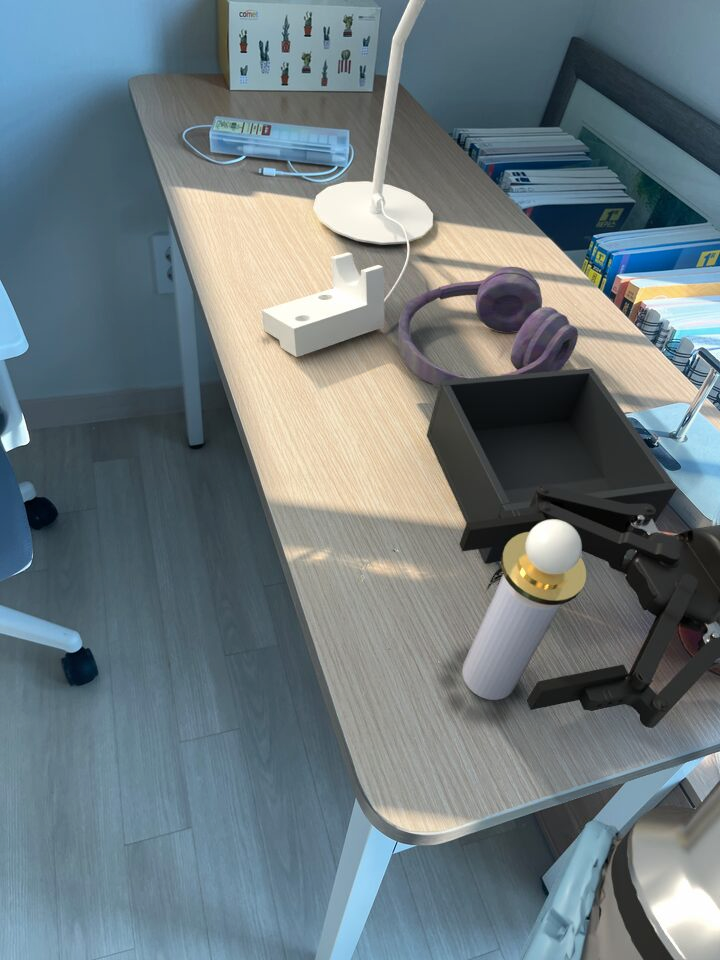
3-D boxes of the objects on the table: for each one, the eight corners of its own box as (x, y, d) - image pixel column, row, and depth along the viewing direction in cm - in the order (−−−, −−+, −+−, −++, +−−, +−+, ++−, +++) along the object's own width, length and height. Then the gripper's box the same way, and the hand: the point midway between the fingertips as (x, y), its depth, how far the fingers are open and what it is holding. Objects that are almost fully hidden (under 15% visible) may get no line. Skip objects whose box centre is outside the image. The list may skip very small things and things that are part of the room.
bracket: (350, 309, 98) (348, 252, 94) (384, 326, 94) (383, 266, 89) (264, 337, 92) (257, 277, 88) (296, 357, 87) (290, 294, 83)
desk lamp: (301, 183, 118) (327, -199, 85) (410, 183, 123) (475, -180, 90) (356, 327, 94) (422, -126, 61) (490, 321, 99) (617, -104, 66)
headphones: (517, 298, 102) (378, 332, 98) (526, 244, 96) (377, 278, 92) (586, 385, 91) (431, 427, 87) (601, 331, 84) (435, 374, 81)
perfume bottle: (533, 700, 62) (623, 555, 48) (471, 719, 61) (545, 574, 46) (501, 641, 66) (577, 488, 51) (442, 657, 64) (502, 504, 49)
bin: (644, 539, 76) (677, 488, 70) (484, 564, 71) (506, 511, 66) (569, 420, 87) (592, 367, 81) (426, 435, 83) (440, 380, 77)
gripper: (812, 738, 55) (551, 801, 50) (644, 486, 71) (432, 513, 65) (876, 689, 50) (591, 754, 44) (678, 428, 65) (450, 452, 60)
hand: (495, 610), depth 55 cm, fingers open, 13 cm apart
